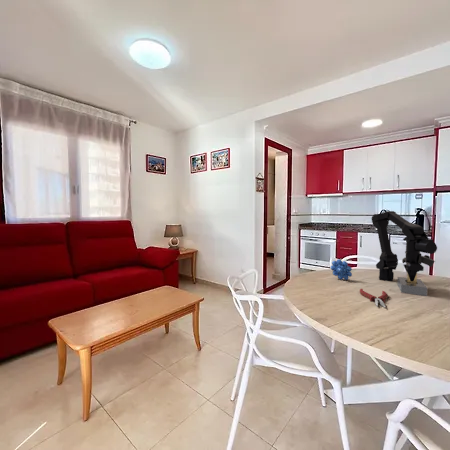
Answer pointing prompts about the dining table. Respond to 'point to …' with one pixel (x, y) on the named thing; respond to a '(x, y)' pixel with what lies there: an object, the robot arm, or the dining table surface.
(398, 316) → the dining table surface
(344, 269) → the grapes
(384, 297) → the pliers
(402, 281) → the grey block with hole
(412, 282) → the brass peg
